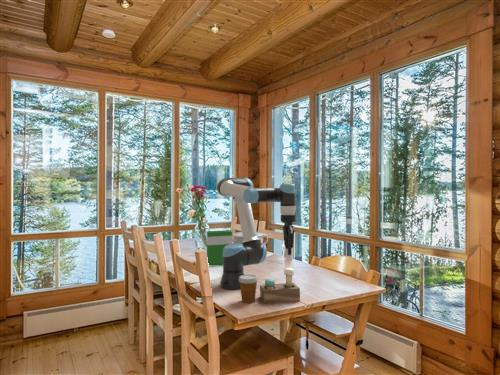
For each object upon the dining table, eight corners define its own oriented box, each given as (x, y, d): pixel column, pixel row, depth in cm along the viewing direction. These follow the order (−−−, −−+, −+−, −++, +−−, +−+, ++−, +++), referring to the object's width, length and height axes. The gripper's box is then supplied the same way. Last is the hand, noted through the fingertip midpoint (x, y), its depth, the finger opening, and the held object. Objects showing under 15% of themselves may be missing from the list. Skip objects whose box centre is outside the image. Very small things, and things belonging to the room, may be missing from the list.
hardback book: (230, 262, 255) (230, 230, 254) (232, 264, 247) (232, 231, 247) (207, 263, 250) (206, 231, 250) (208, 266, 243) (207, 232, 243)
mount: (260, 296, 176) (260, 285, 176) (293, 294, 179) (293, 282, 179) (264, 303, 166) (264, 290, 166) (300, 300, 169) (299, 288, 169)
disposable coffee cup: (235, 303, 167) (235, 278, 167) (243, 296, 176) (242, 273, 175) (254, 305, 163) (253, 280, 163) (260, 298, 172) (260, 275, 172)
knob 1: (264, 296, 173) (264, 279, 173) (273, 296, 174) (273, 278, 174) (266, 300, 169) (266, 281, 168) (275, 299, 169) (275, 281, 169)
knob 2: (283, 285, 175) (283, 268, 175) (292, 285, 176) (292, 267, 176) (285, 288, 170) (285, 270, 170) (295, 288, 171) (294, 270, 171)
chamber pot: (225, 256, 276) (225, 230, 276) (239, 250, 301) (239, 226, 301) (258, 258, 265) (257, 232, 265) (269, 252, 291) (269, 227, 290)
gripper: (299, 214, 167) (300, 263, 167) (291, 213, 180) (292, 257, 180) (284, 215, 166) (285, 264, 166) (277, 213, 178) (278, 258, 178)
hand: (289, 260), depth 173 cm, fingers closed
